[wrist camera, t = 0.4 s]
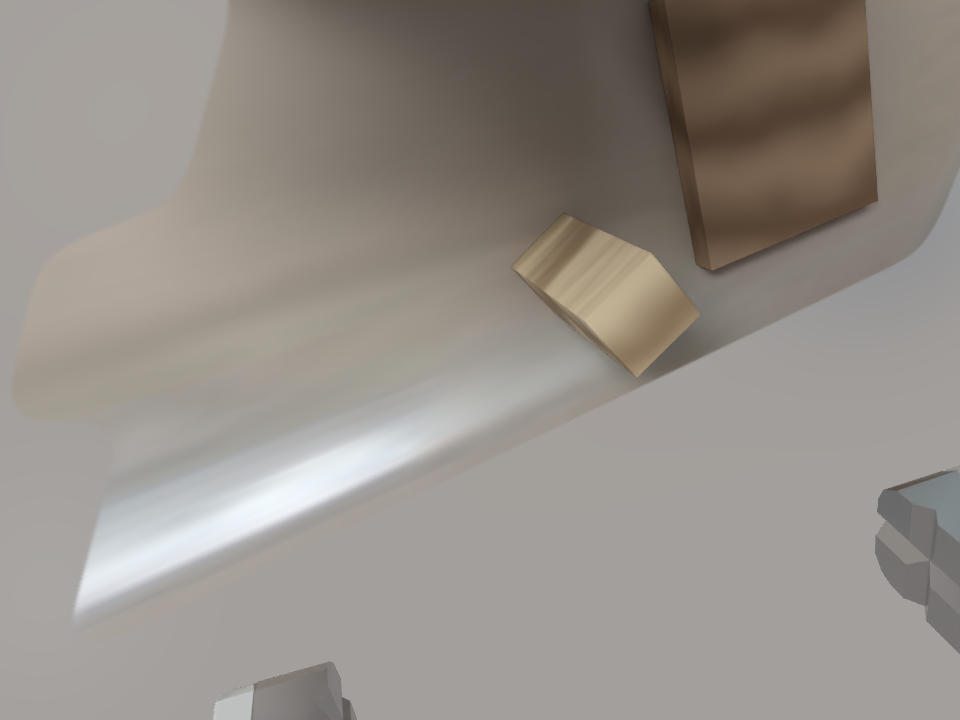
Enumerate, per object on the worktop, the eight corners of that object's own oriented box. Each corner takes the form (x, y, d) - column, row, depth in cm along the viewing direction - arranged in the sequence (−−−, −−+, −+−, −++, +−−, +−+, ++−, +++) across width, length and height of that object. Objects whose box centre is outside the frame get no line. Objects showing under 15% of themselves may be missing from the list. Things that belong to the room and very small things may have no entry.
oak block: (510, 266, 50) (584, 321, 39) (563, 212, 50) (651, 253, 39) (555, 313, 52) (637, 377, 42) (606, 262, 52) (701, 314, 41)
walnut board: (648, 1, 46) (664, -1, 45) (837, -67, 48) (860, -72, 47) (696, 264, 54) (711, 271, 52) (857, 196, 56) (877, 200, 54)
